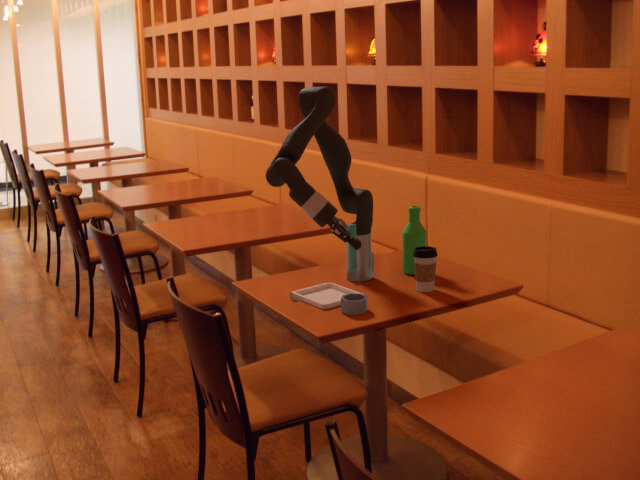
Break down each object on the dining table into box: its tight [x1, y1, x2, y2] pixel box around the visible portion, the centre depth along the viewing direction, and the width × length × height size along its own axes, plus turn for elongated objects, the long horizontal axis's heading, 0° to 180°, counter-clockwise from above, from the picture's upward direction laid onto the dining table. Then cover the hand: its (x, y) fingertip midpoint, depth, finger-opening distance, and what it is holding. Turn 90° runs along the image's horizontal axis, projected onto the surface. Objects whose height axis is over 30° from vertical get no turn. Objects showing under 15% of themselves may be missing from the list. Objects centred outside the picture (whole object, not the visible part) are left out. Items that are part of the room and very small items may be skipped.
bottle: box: [401, 205, 428, 276], centre depth 290 cm, size 9×9×25 cm
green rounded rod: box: [348, 223, 357, 269], centre depth 245 cm, size 2×2×14 cm
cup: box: [340, 292, 369, 316], centre depth 249 cm, size 8×8×6 cm
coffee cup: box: [413, 245, 438, 293], centre depth 270 cm, size 8×8×15 cm
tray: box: [289, 281, 366, 311], centre depth 264 cm, size 17×19×2 cm
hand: (359, 246), depth 245 cm, fingers closed on green rounded rod, 2 cm apart
